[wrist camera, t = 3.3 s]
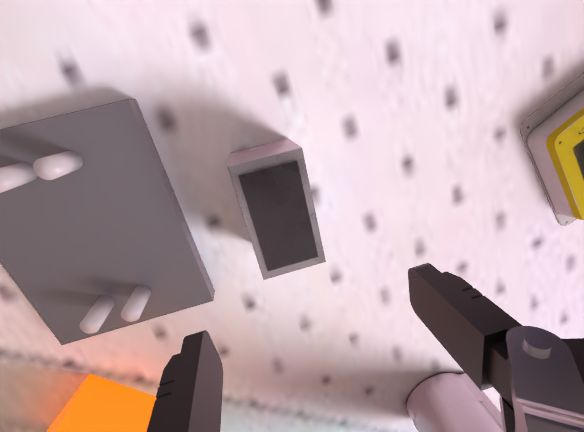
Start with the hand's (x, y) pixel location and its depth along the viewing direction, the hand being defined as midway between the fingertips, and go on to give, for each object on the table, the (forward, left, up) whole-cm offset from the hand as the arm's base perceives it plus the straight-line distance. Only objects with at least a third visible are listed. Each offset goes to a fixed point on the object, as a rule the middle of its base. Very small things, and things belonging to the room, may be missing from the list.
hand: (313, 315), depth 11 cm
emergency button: (-32, +4, -17) cm, 36 cm away
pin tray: (+15, -1, -16) cm, 22 cm away
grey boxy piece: (0, 0, -16) cm, 16 cm away
